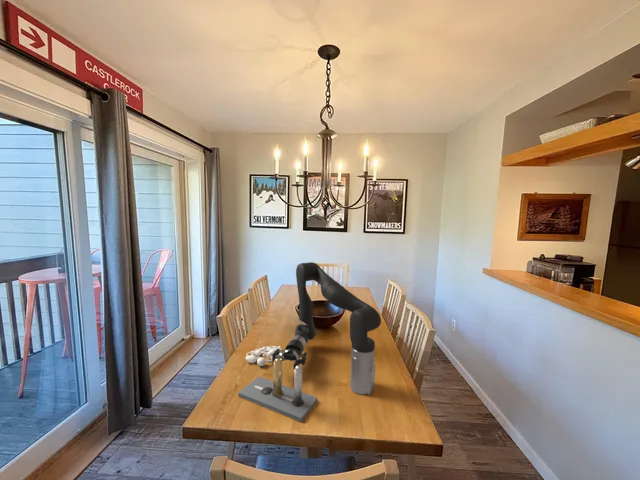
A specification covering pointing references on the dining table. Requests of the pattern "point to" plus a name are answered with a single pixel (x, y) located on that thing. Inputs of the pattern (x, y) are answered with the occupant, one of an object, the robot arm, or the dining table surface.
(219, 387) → the dining table surface
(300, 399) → the fixed leg
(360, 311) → the robot arm
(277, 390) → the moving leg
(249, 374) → the dining table surface
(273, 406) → the board
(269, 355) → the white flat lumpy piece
